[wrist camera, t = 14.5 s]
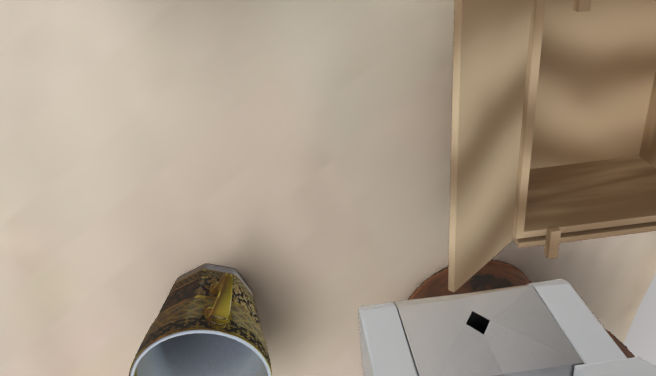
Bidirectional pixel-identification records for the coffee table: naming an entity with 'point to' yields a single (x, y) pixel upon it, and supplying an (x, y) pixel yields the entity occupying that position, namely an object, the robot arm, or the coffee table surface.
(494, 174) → the flap
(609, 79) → the wooden flap box
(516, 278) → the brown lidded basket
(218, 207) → the coffee table surface
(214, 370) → the ceramic cup
